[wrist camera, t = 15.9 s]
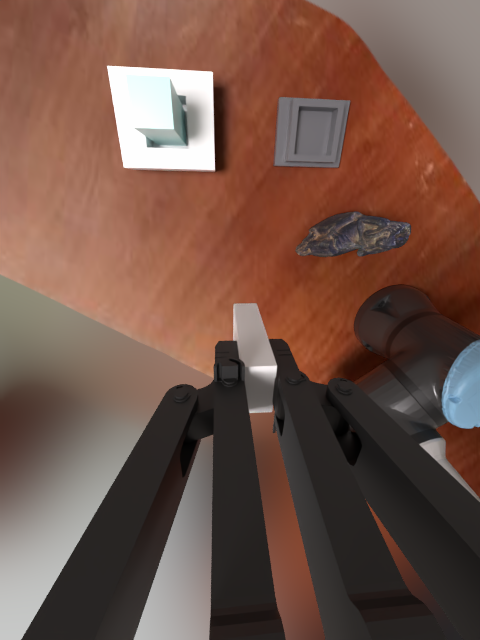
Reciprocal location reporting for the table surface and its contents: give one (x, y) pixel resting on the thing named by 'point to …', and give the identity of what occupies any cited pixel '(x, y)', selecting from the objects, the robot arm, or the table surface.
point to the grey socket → (310, 132)
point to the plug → (157, 109)
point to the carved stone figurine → (354, 235)
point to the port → (198, 122)
